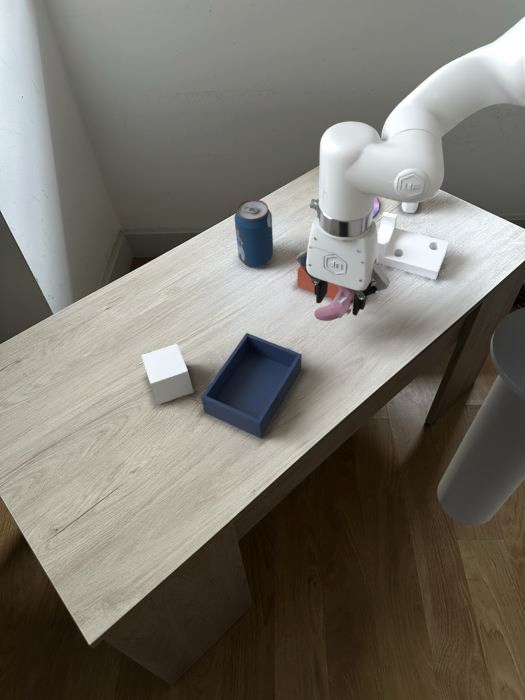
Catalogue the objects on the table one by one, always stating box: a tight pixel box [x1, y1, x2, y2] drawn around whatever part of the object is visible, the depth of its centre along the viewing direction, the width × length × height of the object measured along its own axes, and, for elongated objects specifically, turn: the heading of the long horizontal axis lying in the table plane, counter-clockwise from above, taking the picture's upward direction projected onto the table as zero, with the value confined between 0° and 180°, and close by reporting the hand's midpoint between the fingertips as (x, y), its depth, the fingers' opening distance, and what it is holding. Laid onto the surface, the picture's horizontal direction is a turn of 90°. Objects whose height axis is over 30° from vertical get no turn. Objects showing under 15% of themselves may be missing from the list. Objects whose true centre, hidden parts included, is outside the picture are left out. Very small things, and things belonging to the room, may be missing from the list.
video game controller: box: [313, 284, 356, 322], centre depth 86 cm, size 10×5×7 cm, turn 152°
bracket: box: [377, 211, 450, 281], centre depth 99 cm, size 13×7×8 cm, turn 64°
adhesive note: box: [140, 343, 194, 406], centre depth 84 cm, size 6×6×6 cm
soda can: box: [234, 199, 274, 269], centre depth 99 cm, size 7×7×12 cm
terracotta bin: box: [296, 264, 339, 300], centre depth 97 cm, size 10×9×5 cm
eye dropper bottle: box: [401, 202, 420, 214], centre depth 107 cm, size 4×6×12 cm
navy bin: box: [200, 332, 303, 439], centre depth 83 cm, size 10×14×5 cm
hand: (339, 302), depth 87 cm, fingers closed on video game controller, 5 cm apart
